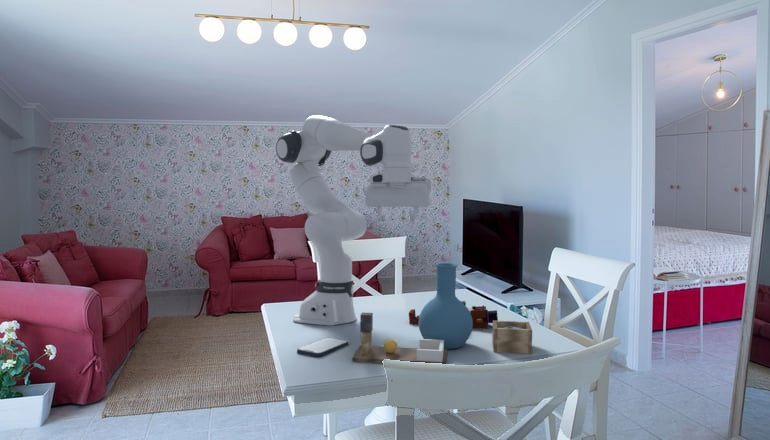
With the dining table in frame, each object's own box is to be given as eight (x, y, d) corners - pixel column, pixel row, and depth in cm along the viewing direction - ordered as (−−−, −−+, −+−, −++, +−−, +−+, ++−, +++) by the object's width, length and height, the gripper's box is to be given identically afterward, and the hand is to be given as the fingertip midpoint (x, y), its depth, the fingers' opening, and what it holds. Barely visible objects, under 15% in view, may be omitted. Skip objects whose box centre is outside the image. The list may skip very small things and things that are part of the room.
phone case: (326, 342, 184) (294, 354, 170) (326, 337, 184) (294, 348, 170) (350, 346, 180) (319, 359, 166) (350, 341, 180) (319, 353, 166)
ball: (382, 354, 165) (382, 340, 165) (384, 350, 169) (384, 337, 169) (396, 355, 165) (396, 341, 164) (398, 351, 169) (398, 337, 168)
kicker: (359, 354, 165) (359, 316, 164) (363, 348, 171) (363, 311, 170) (369, 354, 165) (370, 316, 164) (373, 348, 171) (373, 311, 170)
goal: (416, 360, 160) (416, 349, 160) (419, 348, 171) (420, 338, 171) (442, 361, 159) (442, 351, 159) (443, 350, 170) (444, 339, 170)
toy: (415, 301, 220) (497, 297, 214) (417, 319, 221) (498, 316, 214) (403, 317, 194) (495, 314, 188) (405, 338, 195) (497, 336, 188)
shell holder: (493, 351, 173) (494, 328, 172) (492, 342, 183) (492, 320, 182) (531, 353, 171) (532, 330, 171) (528, 344, 181) (528, 321, 181)
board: (352, 361, 163) (352, 357, 163) (359, 349, 174) (360, 345, 174) (445, 366, 159) (445, 362, 159) (447, 353, 171) (447, 349, 171)
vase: (471, 338, 187) (472, 261, 185) (473, 354, 171) (474, 269, 169) (419, 336, 189) (420, 259, 187) (416, 351, 173) (417, 268, 171)
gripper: (431, 177, 184) (431, 220, 185) (367, 177, 186) (367, 220, 187) (430, 176, 178) (430, 222, 179) (364, 177, 180) (364, 221, 181)
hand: (397, 221), depth 183 cm, fingers open, 8 cm apart
